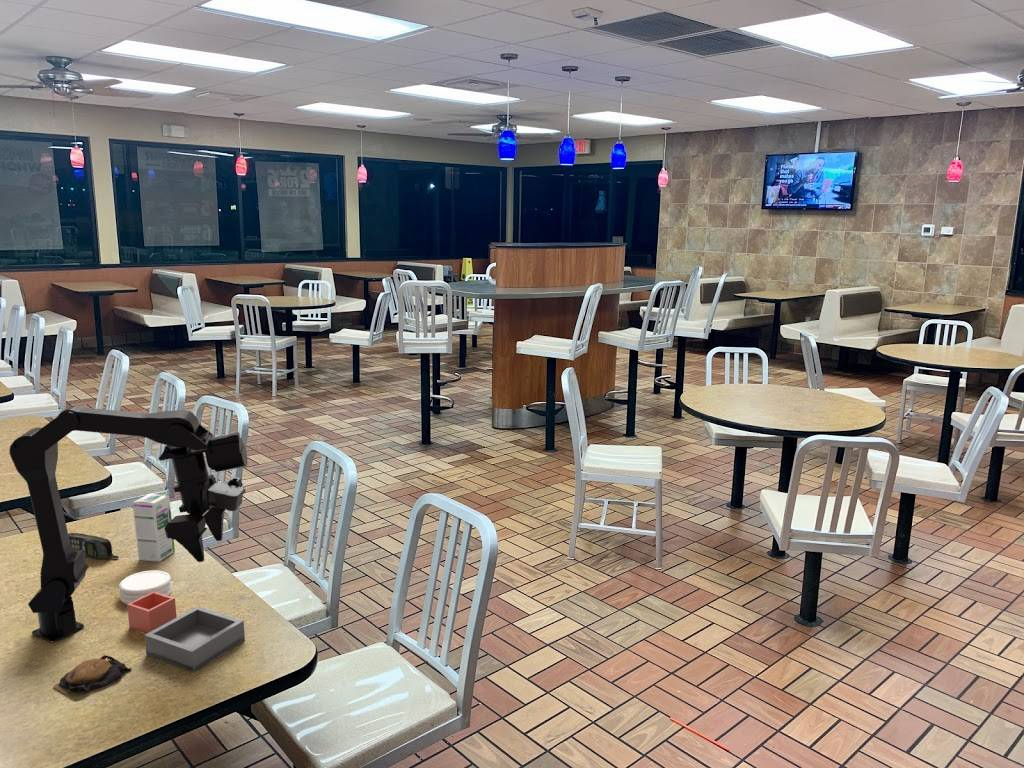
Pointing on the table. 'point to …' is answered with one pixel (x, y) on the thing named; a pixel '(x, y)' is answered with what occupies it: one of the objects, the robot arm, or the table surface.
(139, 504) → the syrup box
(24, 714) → the table surface
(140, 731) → the table surface
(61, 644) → the table surface
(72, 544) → the mobile phone
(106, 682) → the bread roll
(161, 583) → the white round container
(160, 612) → the small crate
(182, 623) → the big crate
